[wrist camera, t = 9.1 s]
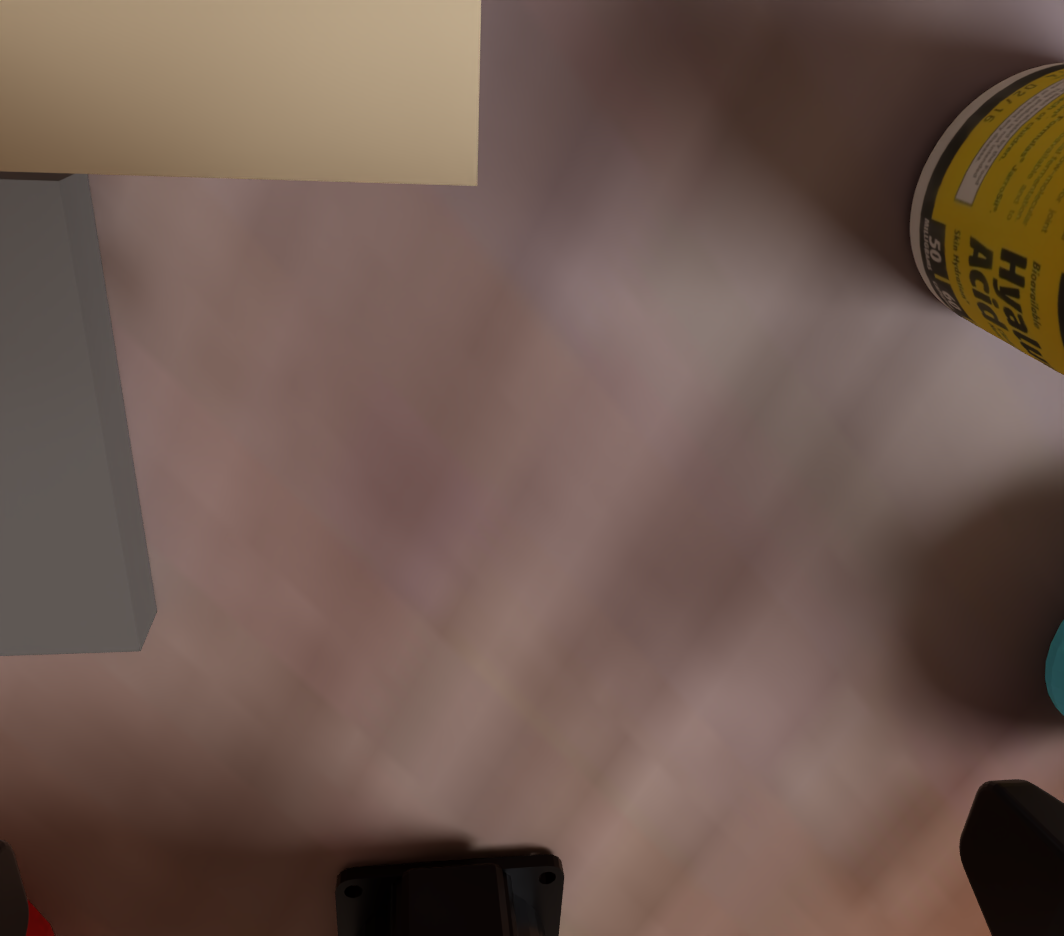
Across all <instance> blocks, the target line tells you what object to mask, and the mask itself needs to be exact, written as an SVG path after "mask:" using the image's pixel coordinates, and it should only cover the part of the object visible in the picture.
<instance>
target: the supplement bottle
mask: <svg viewBox="0 0 1064 936" xmlns="http://www.w3.org/2000/svg"><path fill="white" fill-rule="evenodd" d="M910 239H911V247H912V252H913V256H914V259H915V262H916V265H917V268H918V270H919V272H920V274H921V276H922V278H923V280H924V282H925V283H926V285H927V286H928V288H929V289H930V291H931V292H932V293H933V294H934V295H935V297H936V298H937V299H939V300H940V301H941V302H942V303H943V304H944V305H945V306H946V307H948V308H949V309H950V310H952V311H953V312H955V313H956V314H958V315H959V316H961V317H963V318H964V319H966V320H968V321H970V322H971V323H973V324H975V325H976V326H978V327H980V328H982V329H984V330H985V331H987V332H989V333H991V334H992V335H994V336H996V337H998V338H999V339H1001V340H1003V341H1005V342H1006V343H1008V344H1010V345H1012V346H1014V347H1015V348H1017V349H1018V350H1020V351H1022V352H1024V353H1025V354H1027V355H1029V356H1031V357H1032V358H1034V359H1036V360H1038V361H1040V362H1042V363H1043V364H1045V365H1047V366H1048V367H1050V368H1052V369H1054V370H1055V371H1057V372H1059V373H1061V374H1063V375H1064V63H1055V64H1049V65H1043V66H1039V67H1036V68H1032V69H1029V70H1026V71H1023V72H1020V73H1018V74H1016V75H1013V76H1011V77H1009V78H1007V79H1005V80H1004V81H1002V82H1000V83H998V84H996V85H995V86H993V87H992V88H990V89H989V90H987V91H986V92H984V93H983V94H982V95H980V96H979V97H978V98H976V99H975V100H974V101H973V102H972V103H970V104H969V105H968V106H967V107H966V108H965V109H964V110H963V111H962V112H961V113H960V114H959V115H958V116H957V118H956V119H955V120H954V121H953V122H952V123H951V125H950V126H949V127H948V128H947V130H946V131H945V132H944V134H943V135H942V137H941V138H940V139H939V141H938V142H937V144H936V146H935V147H934V149H933V151H932V152H931V154H930V156H929V158H928V160H927V162H926V164H925V166H924V168H923V170H922V173H921V175H920V178H919V181H918V183H917V186H916V190H915V193H914V197H913V202H912V208H911V215H910Z"/></svg>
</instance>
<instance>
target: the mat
mask: <svg viewBox="0 0 1064 936" xmlns="http://www.w3.org/2000/svg"><path fill="white" fill-rule="evenodd" d="M156 613H157V608H156V601H155V595H154V589H153V583H152V576H151V570H150V564H149V557H148V551H147V545H146V539H145V532H144V526H143V520H142V513H141V507H140V501H139V495H138V488H137V482H136V476H135V469H134V463H133V457H132V451H131V444H130V438H129V432H128V425H127V419H126V413H125V407H124V400H123V394H122V388H121V381H120V375H119V369H118V363H117V356H116V350H115V344H114V337H113V331H112V325H111V319H110V312H109V306H108V300H107V293H106V287H105V281H104V275H103V268H102V262H101V256H100V249H99V243H98V237H97V231H96V224H95V218H94V212H93V205H92V199H91V193H90V187H89V180H88V174H73V173H40V172H7V171H0V656H15V655H44V654H74V653H103V652H132V651H141V649H142V646H143V644H144V641H145V639H146V637H147V634H148V632H149V630H150V627H151V625H152V622H153V620H154V618H155V615H156Z"/></svg>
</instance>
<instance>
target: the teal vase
mask: <svg viewBox="0 0 1064 936" xmlns="http://www.w3.org/2000/svg"><path fill="white" fill-rule="evenodd" d="M1045 682H1046V686H1047V691H1048V695H1049V696H1050V698H1051V700H1052V702H1053V703H1054V705H1055V707H1056V708H1057V709H1058V710H1059V711H1060V712H1061V713H1062V714H1063V715H1064V620H1063V621H1062V623H1061V624H1060V626H1059V628H1058V630H1057V632H1056V634H1055V636H1054V638H1053V640H1052V642H1051V645H1050V648H1049V652H1048V655H1047V659H1046V667H1045Z"/></svg>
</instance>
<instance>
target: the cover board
mask: <svg viewBox="0 0 1064 936" xmlns="http://www.w3.org/2000/svg"><path fill="white" fill-rule="evenodd" d="M480 28H481V0H0V171H7V172H40V173H73V174H106V175H138V176H171V177H204V178H236V179H269V180H302V181H334V182H367V183H400V184H433V185H465V186H477V168H478V122H479V75H480Z"/></svg>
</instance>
